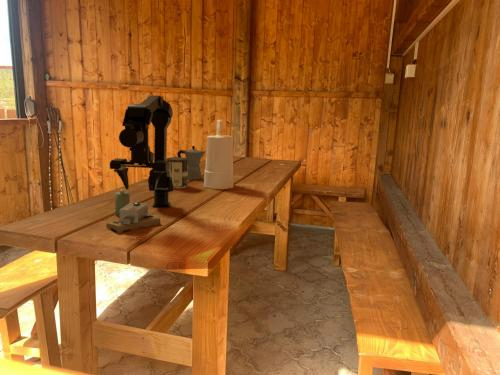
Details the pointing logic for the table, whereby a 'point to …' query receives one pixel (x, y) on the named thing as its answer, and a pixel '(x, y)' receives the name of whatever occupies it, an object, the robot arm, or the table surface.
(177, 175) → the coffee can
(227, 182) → the paper towel roll holder
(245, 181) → the table surface
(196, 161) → the coffeepot
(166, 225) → the table surface
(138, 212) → the housing
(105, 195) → the table surface
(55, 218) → the table surface
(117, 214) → the cylinder
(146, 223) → the computer
